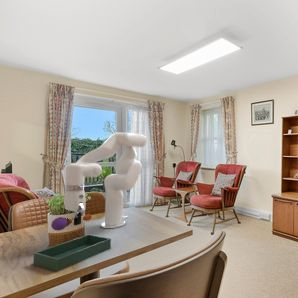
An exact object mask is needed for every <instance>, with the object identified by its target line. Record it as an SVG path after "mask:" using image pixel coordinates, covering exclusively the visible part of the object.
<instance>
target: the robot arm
mask: <svg viewBox="0 0 298 298" xmlns="http://www.w3.org/2000/svg"><path fill="white" fill-rule="evenodd" d="M147 143H148V137H147V136H146V135H145V134H143V133H135V132H119V131H118V132H117V131H116V132H113V133H111V135H109V136H108V138H107V139H106V140H105V141H104V142H103V143H102V144H101V145H100V146H99V147H96V148H95V149H93V150H90V151H89V152H87V153H85V154H84V155H82V156H81V157H80V158H79V159H77V160H76V162H75V163H68V164H67V165H66V168H65V169H66V170H65V185H64V186H65V187H64V190H65V191H64V195H63V202H64V205H65V209H66V210H68V211H72V212H74V217H73V219H74V222H73V226H78V225H81V224H82V221H81V216H84V213H85V212H86V205H87V203H86V199H87V198H86V192H85V178H96V177H98V176H100V175H101V174H102V171H103V167H102V166H101V165H100V164H99V163H97V162H100V161H104V160H107V159H109V158H112V157H114V155H115V154H116V153H117V152H118V151H119V149H121V148H122V149H123V151H122V154H121V156H120V158H119V159H118V161H117V162H116V164H115V166H114V171H115V172H116V173H111V174H109V175H107V176H105V179H104V183H103V185H104V190H105V202H104V203H105V204H104V222H102V223H101V225H100V226H101V228H103V229H116V228H120V227H123V226H125V225H126V221H125V220H127V219H129V217H130V216H129V215H124V213H123V212H124V193H123V191H131V190H132V189H133V188H134V187H135V186H136V183H137V181H138V179H139V177H140V175H141V173H142V170H143V165H142V162H140V160H137V159H136V158H137V156H138V153H137V150H136V148H143V147H145V146H146V145H147Z"/></svg>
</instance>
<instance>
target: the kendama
mask: <svg viewBox="0 0 298 298" xmlns="http://www.w3.org/2000/svg"><path fill="white" fill-rule="evenodd" d="M84 215H85V216H84ZM84 215H83V216H84V217H83V220H84V221H90V220H91V219H92V218H93V217H92V214H91V213H87V214H84ZM72 220H73V219H72ZM72 220H71V219H68V218H67V219H66V218H65V217H63V216H59V217H56V218H55V219H53V220H52V222H51V224H50V225H51V228H52V230H54V231H62V230H64V229H66V228H67V227H69V226H70V225H71V224H72V223H73V222H72Z"/></svg>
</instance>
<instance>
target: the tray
mask: <svg viewBox="0 0 298 298" xmlns="http://www.w3.org/2000/svg"><path fill="white" fill-rule="evenodd" d="M111 243H112V239H111V238H109V237H105V236H99V235H95V234H91V233H89V234H86V235H83V236H80V237H77V238H74V239H71V240H68V241H65V242H62V243H60V244H56V245H54V246H53V245H52V246H50V247H47V248H44V249H41V250H39V251H35V252H33V264H32V265H34V266H36V267H37V266H38V267H40V268H43V269H47V270H51V271H54V272H59V271H62V270H64V269H66V268H69V267H71V266H73V265H76V264H78V263H81V262H82V261H84V260H87V259H89V258H92V257H94V256H96V255H99V254H101V253H103V252H105V251H107V250H110V249H111V245H112V244H111Z"/></svg>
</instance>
